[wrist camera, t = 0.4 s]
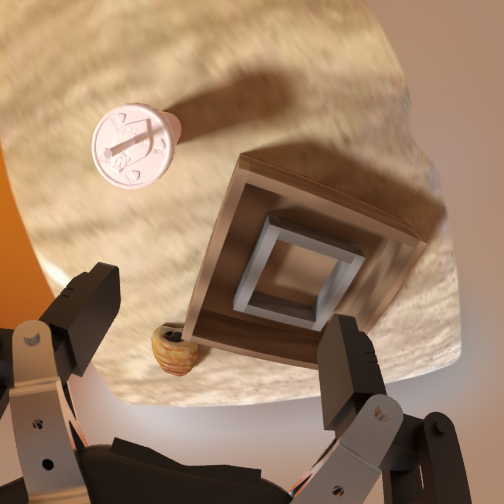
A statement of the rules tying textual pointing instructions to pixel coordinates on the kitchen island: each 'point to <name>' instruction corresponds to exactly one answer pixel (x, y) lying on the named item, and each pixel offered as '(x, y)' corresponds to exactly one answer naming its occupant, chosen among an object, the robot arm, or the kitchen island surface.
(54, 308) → the robot arm
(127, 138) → the smoothie
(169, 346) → the pastry
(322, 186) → the crate
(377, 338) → the kitchen island surface
